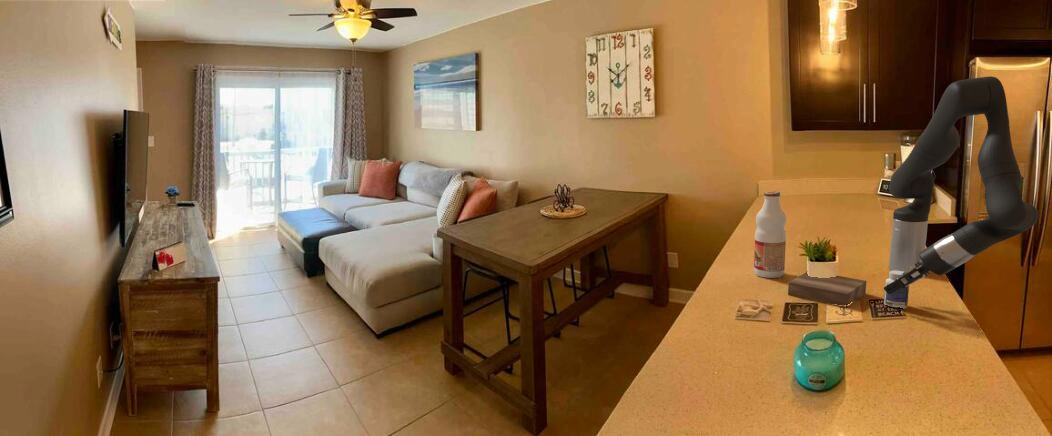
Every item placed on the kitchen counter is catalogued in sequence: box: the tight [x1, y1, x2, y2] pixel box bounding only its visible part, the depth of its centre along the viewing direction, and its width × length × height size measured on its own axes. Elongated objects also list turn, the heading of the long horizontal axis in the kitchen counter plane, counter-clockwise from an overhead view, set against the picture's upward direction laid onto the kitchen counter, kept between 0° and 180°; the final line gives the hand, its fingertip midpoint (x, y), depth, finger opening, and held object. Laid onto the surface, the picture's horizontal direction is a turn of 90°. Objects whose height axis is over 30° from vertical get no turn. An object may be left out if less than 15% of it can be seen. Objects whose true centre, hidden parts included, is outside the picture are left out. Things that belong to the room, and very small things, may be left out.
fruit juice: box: [753, 190, 787, 279], centre depth 177 cm, size 9×9×28 cm
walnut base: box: [787, 271, 867, 306], centre depth 159 cm, size 15×16×4 cm
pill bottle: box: [883, 270, 910, 310], centre depth 147 cm, size 5×5×10 cm
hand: (891, 287), depth 148 cm, fingers open, 8 cm apart
